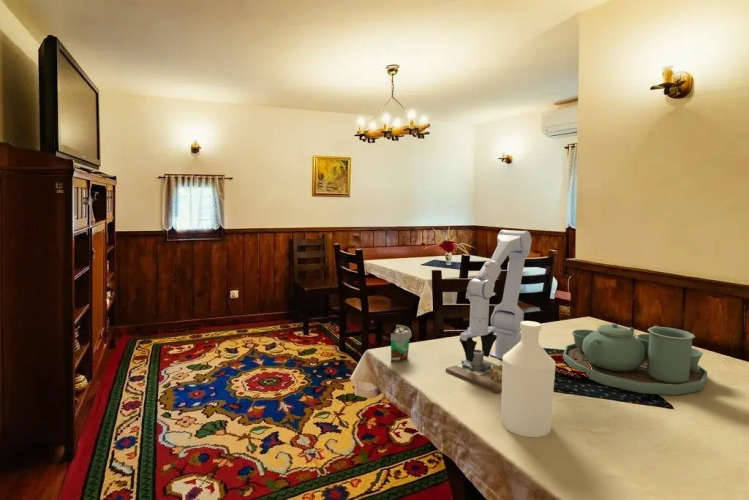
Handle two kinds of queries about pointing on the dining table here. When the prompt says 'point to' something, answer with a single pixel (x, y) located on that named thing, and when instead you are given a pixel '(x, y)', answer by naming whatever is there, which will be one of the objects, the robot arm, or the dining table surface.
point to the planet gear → (477, 362)
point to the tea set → (638, 359)
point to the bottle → (527, 385)
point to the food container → (400, 343)
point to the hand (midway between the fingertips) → (477, 358)
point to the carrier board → (481, 376)
